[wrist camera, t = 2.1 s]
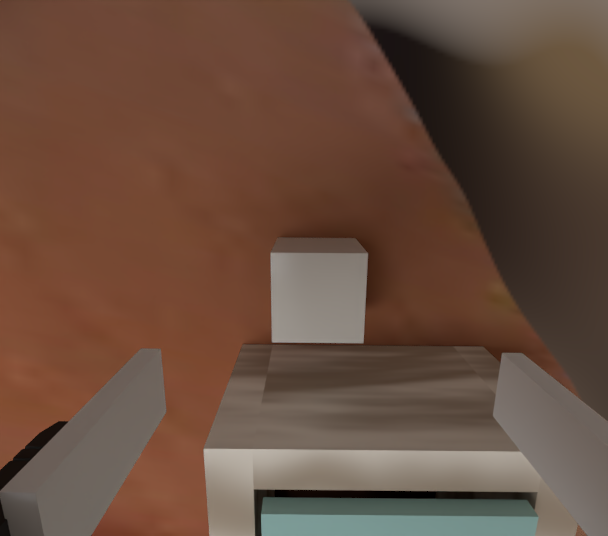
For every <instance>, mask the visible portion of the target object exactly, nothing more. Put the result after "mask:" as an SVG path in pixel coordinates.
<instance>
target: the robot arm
mask: <svg viewBox="0 0 608 536" xmlns="http://www.w3.org/2000/svg"><path fill="white" fill-rule="evenodd" d="M165 413H166V402H165V391H164V380H163V369H162V358H161V349H140V350H139V351H138V352H137V353H136V354H135V355H134V356H133V357H132V358H131V359H130V360H129V361H128V362H127V363H126V364H125V365H124V366H123V367H122V368H121V369H120V370H119V371H118V372H117V373H116V374H115V375H114V376H113V377H112V378H111V379H110V380H109V381H108V382H107V383H106V384H105V385H104V386H103V387H102V388H101V389H100V390H99V391H98V392H97V393H96V394H95V396H94V397H93V398H92V399H91V400H90V401H89V402H88V403H87V404H86V405H85V406H84V407H83V408H82V409H81V410H80V411H79V412H78V413H77V414H76V415H75V416H74V417H73V418H72V419H71V420H70V421H69V422H67V421H59V422H57V423H55V424H54V425H52V426H50V427H49V428H47V429H45V430H44V431H42V432H40V433H39V434H38V435H37V436H36V437H35V438H34V439H33V440H32V441H31V442H30V443H29V444H28V445H26V446H25V449H22V450H21V451H20V452H19V453H18V454H17V455H16V456H15V457H14V458H13V461H10V462H8V463H7V464H6V465H5V466H4V467H3V468H2V469H1V470H0V536H91V535H92V533H93V532H94V530H95V528H96V527H97V525H98V523H99V522H100V520H101V518H102V517H103V515H104V514H105V512H106V510H107V509H108V507H109V505H110V504H111V502H112V500H113V499H114V497H115V495H116V494H117V492H118V490H119V489H120V487H121V486H122V484H123V482H124V481H125V479H126V477H127V476H128V474H129V472H130V471H131V469H132V467H133V466H134V464H135V463H136V461H137V459H138V458H139V456H140V454H141V453H142V451H143V449H144V448H145V446H146V444H147V443H148V441H149V440H150V438H151V436H152V435H153V433H154V431H155V430H156V428H157V426H158V425H159V423H160V421H161V420H162V418H163V417H164V415H165ZM493 417H494V418H495V419H496V421H497V422H498V423H499V424H500V426H501V427H502V428H503V429H504V431H505V432H506V433H507V435H508V436H509V437H510V438H511V440H512V441H513V442H514V443H515V445H516V446H517V447H518V448H519V450H520V451H521V452H522V454H523V455H524V456H525V457H526V459H527V460H528V461H529V462H530V464H531V465H532V466H533V467H534V469H535V470H536V471H537V472H538V474H539V475H540V476H541V478H542V479H543V480H544V481H545V483H546V484H547V485H548V486H549V488H550V489H551V490H552V491H553V493H554V494H555V495H556V497H557V498H558V499H559V500H560V502H561V503H562V504H563V505H564V507H565V508H566V509H567V510H568V512H569V513H570V514H571V516H572V517H573V518H574V519H575V521H576V522H577V523H578V524H579V526H580V527H581V528H582V529H583V531H584V532H585V533H586V534H587V536H608V421H606V420H605V419H604V418H603V417H601V416H600V415H599V414H598V413H596V412H595V411H594V410H593V409H591V408H590V407H589V406H588V405H586V404H585V403H584V402H583V401H581V400H580V399H579V398H578V397H576V396H575V395H574V394H573V393H571V392H570V391H569V390H568V389H566V388H565V387H564V386H563V385H561V384H560V383H559V382H558V381H556V380H555V379H554V378H553V377H551V376H550V375H549V374H548V373H546V372H545V371H544V370H543V369H541V368H540V367H539V366H538V365H536V364H535V363H534V362H533V361H531V360H530V359H529V358H528V357H526V356H525V355H524V354H523V353H502V357H501V363H500V370H499V377H498V384H497V390H496V397H495V404H494V410H493Z"/></svg>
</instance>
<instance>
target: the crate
mask: <svg viewBox="0 0 608 536" xmlns="http://www.w3.org/2000/svg"><path fill="white" fill-rule="evenodd" d="M499 370H500V362H499V361H498V360H497V359H496V358H495V357H494V356H493V355H492V354H491V353H489V352H488V351H487V350H486V349H485V348H484V347H483V346H374V345H262V344H243V345H242V348H241V350H240V353H239V356H238V358H237V361H236V364H235V366H234V369H233V372H232V374H231V377H230V380H229V382H228V385H227V388H226V390H225V393H224V396H223V398H222V401H221V403H220V406H219V409H218V411H217V414H216V417H215V419H214V422H213V425H212V427H211V430H210V433H209V435H208V438H207V441H206V443H205V446H204V463H205V477H206V492H207V507H208V521H209V536H262V532H261V511H262V503H263V497H275V490H370V491H436V497H435V499H502V500H528V502H529V503H530V505H531V506H532V508H533V509H534V511H535V512H536V514H537V515H538V516H539V518H538V523H537V528H536V533H535V536H575V534H576V530H577V526H578V523H577V522H576V521H575V519H574V518H573V517H572V516H571V514H570V513H569V512H568V510H567V509H566V508H565V507H564V505H563V504H562V503H561V502H560V500H559V499H558V498H557V497H556V495H555V494H554V493H553V491H552V490H551V489H550V488H549V486H548V485H547V484H546V483H545V481H544V480H543V479H542V478H541V476H540V475H539V474H538V472H537V471H536V470H535V469H534V467H533V466H532V465H531V464H530V462H529V461H528V460H527V459H526V457H525V456H524V455H523V454H522V452H521V451H520V450H519V448H518V447H517V446H516V445H515V443H514V442H513V441H512V440H511V438H510V437H509V436H508V435H507V433H506V432H505V431H504V429H503V428H502V427H501V426H500V424H499V423H498V422H497V421H496V419H495V418H494V417H493V410H494V404H495V397H496V390H497V384H498V377H499Z"/></svg>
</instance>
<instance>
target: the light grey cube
mask: <svg viewBox="0 0 608 536" xmlns="http://www.w3.org/2000/svg"><path fill="white" fill-rule="evenodd" d="M367 265H368V253H367V252H366V250H365V249H364V248H363V247H362V245H361V244H360V243H359V242H358V241H357V239H356V238H287V237H278V238H277V240H276V242H275V244H274V246H273V249H272V251H271V314H272V342H283V343H364V324H365V304H366V285H367Z"/></svg>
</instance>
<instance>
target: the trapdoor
mask: <svg viewBox="0 0 608 536" xmlns="http://www.w3.org/2000/svg"><path fill="white" fill-rule="evenodd" d="M538 518H539V516H538V515H537V514H536V512H535V511H534V509H533V508H532V506H531V505H530V503H529V502H528V500H502V499H396V498H290V497H263V503H262V511H261V532H262V536H535V533H536V528H537V523H538Z"/></svg>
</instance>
